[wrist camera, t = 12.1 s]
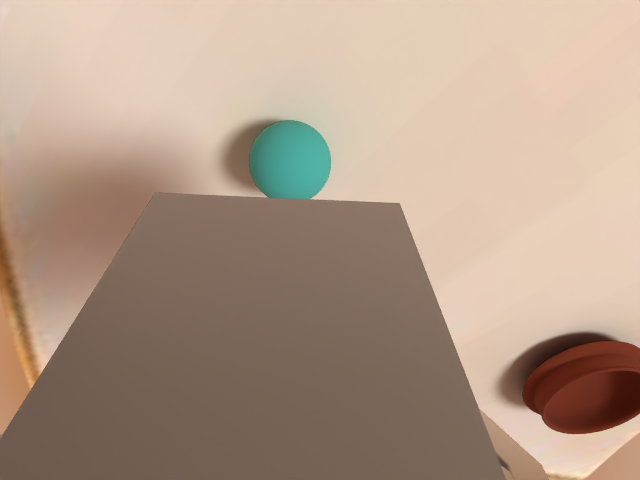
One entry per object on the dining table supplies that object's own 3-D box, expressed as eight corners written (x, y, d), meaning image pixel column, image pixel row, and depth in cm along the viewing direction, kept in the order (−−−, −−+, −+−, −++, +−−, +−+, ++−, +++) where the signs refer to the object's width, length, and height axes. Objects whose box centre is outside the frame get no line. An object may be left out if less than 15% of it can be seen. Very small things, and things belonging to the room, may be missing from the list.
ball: (248, 217, 26) (254, 155, 28) (327, 220, 26) (326, 159, 28) (241, 167, 21) (249, 99, 24) (336, 172, 22) (334, 104, 24)
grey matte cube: (155, 193, 12) (-76, 558, 5) (399, 203, 12) (532, 549, 5) (185, 355, 16) (89, 679, 9) (367, 358, 16) (416, 668, 9)
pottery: (549, 318, 37) (576, 356, 33) (733, 341, 40) (776, 379, 36) (494, 394, 44) (512, 434, 40) (655, 410, 46) (685, 448, 43)
